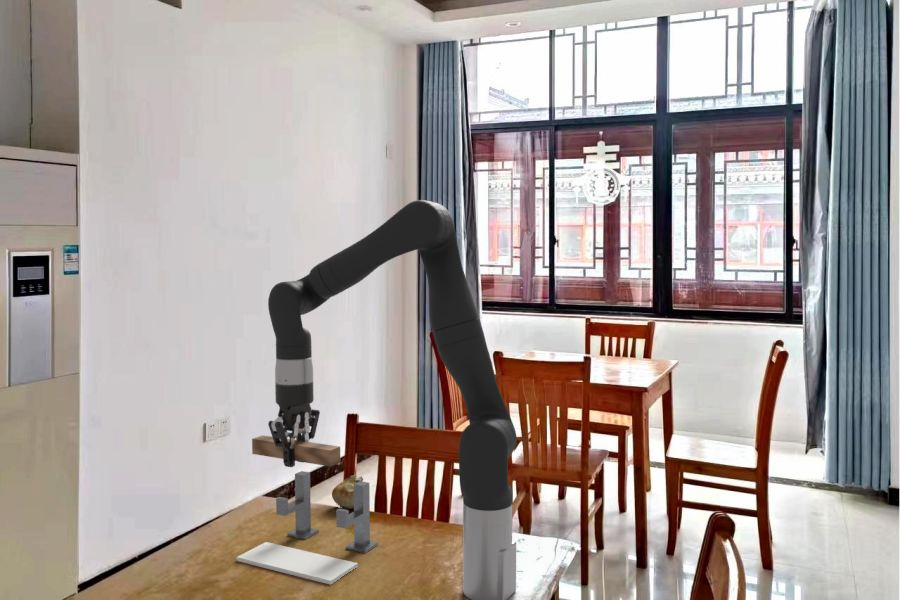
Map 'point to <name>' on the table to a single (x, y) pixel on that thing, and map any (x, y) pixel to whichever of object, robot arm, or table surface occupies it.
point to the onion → (345, 492)
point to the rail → (298, 451)
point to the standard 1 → (299, 507)
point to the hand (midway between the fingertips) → (295, 463)
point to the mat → (298, 562)
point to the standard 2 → (358, 519)
